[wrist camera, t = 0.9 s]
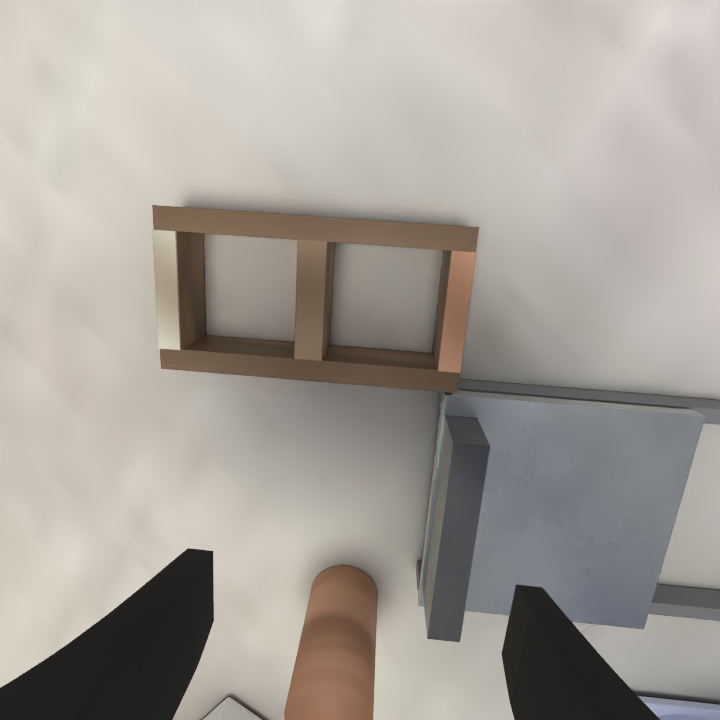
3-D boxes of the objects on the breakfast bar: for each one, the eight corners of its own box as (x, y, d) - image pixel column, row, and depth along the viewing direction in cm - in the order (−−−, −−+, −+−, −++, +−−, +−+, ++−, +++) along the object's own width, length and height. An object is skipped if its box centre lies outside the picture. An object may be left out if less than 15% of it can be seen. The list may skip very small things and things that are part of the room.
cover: (636, 617, 20) (677, 682, 17) (417, 595, 20) (422, 655, 18) (694, 409, 17) (755, 445, 15) (442, 389, 18) (453, 420, 15)
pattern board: (915, 621, 21) (945, 643, 20) (416, 571, 22) (417, 590, 21) (1010, 424, 18) (1051, 436, 17) (438, 377, 19) (441, 386, 18)
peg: (375, 623, 23) (369, 755, 17) (310, 617, 23) (283, 746, 17) (379, 569, 22) (376, 689, 16) (312, 562, 22) (285, 679, 16)
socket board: (449, 373, 19) (457, 394, 17) (187, 352, 20) (159, 369, 17) (467, 227, 18) (479, 227, 15) (182, 208, 18) (150, 205, 16)
